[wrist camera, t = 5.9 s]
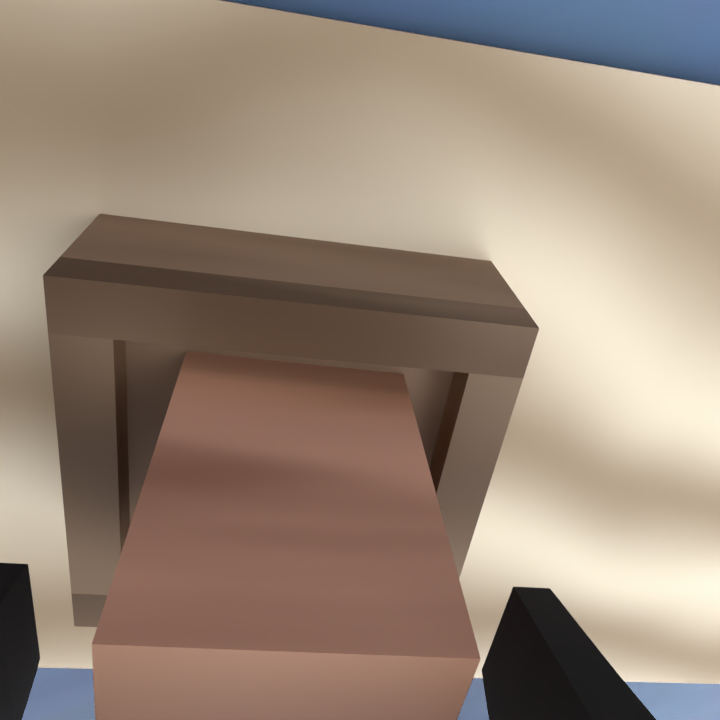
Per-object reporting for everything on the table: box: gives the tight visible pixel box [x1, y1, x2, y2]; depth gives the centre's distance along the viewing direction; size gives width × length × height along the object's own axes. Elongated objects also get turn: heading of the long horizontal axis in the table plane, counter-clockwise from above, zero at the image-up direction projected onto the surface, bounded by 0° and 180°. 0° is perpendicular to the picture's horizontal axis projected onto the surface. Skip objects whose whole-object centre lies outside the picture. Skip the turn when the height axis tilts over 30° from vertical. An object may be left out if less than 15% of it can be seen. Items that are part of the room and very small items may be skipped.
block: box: [92, 351, 481, 720], centre depth 10 cm, size 4×4×6 cm
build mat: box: [0, 0, 720, 684], centre depth 15 cm, size 18×25×4 cm
